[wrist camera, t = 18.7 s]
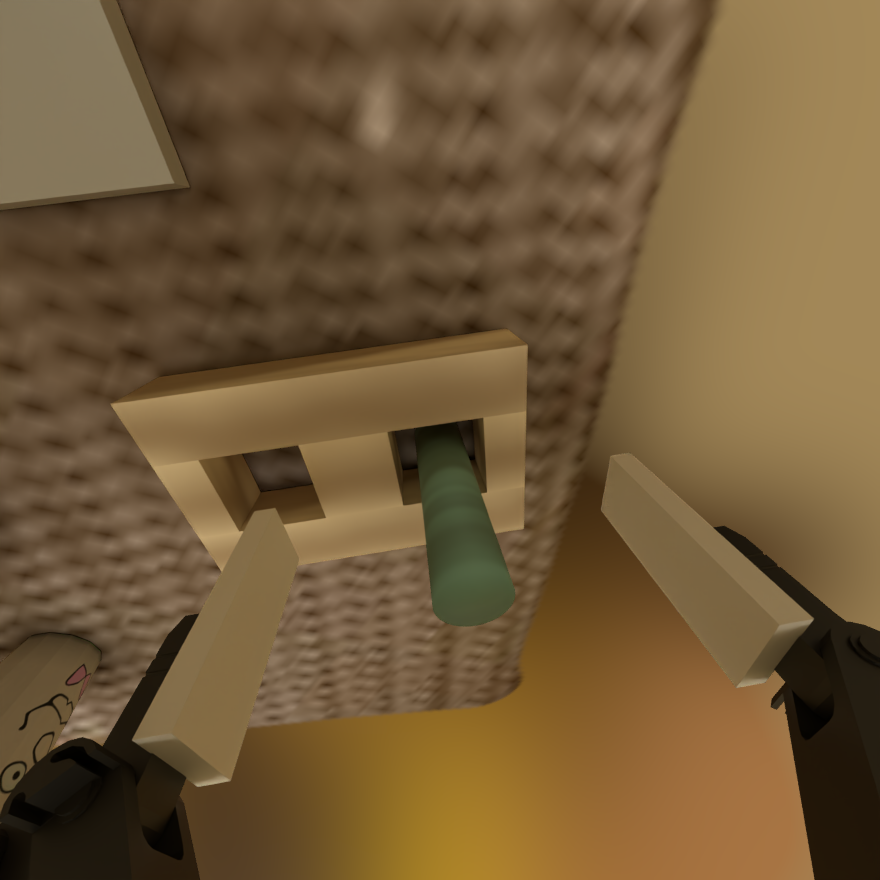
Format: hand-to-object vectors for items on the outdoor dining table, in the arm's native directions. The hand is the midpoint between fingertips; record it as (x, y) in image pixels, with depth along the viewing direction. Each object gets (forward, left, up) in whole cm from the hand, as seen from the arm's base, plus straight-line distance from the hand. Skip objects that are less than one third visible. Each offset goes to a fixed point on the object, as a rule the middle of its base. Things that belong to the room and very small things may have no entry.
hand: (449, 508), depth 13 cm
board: (0, -4, -6) cm, 7 cm away
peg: (0, 0, -6) cm, 6 cm away
